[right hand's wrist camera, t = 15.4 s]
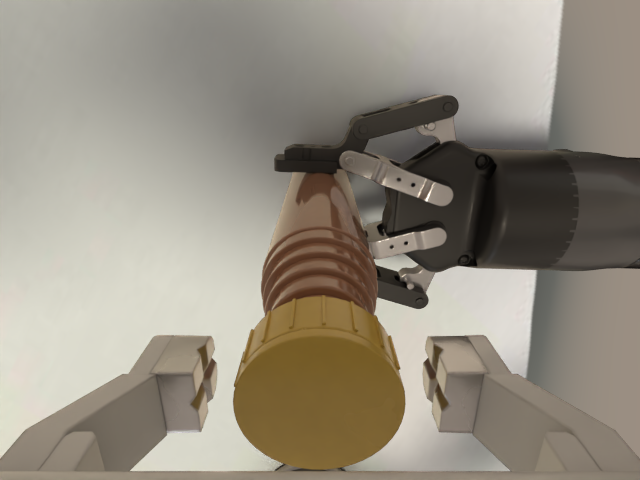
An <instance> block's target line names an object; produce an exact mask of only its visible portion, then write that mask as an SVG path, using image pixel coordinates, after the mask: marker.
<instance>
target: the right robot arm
mask: <svg viewBox="0 0 640 480" xmlns="http://www.w3.org/2000/svg"><path fill="white" fill-rule="evenodd" d="M214 350H215V347H214V340H213V338H212V337H211V336H187V335H175V336H174V335H157V336H155V337H153V338H152V340H151V341H150V343H149V344H148V346H147V347H146V349H145V350H144V351H143V353H142V354H141V356H140V357H139V359H138V360H137V362H136V363H135V365H134V366H133V368H132V369H131V371H130V372H129V374H122V375H120V376H118V377H117V378H115V379H113V380H111V381H110V382H108V383H106V384H104V385H103V386H101V387H99V388H97V389H96V390H94V391H92V392H90V393H89V394H87V395H85V396H84V397H82V398H80V399H78V400H77V401H75V402H73V403H71V404H70V405H68V406H66V407H64V408H63V409H61V410H59V411H57V412H56V413H54V414H52V415H50V416H49V417H47V418H45V419H43V420H42V421H40V422H38V423H36V424H35V425H33V426H31V427H29V428H28V429H26V430H25V431H24V432H23V433H22V434H21V436H20V437H19V438H18V439H17V440H16V441H15V442H14V444H13V445H12V446H11V447H10V448H9V449H8V450H7V452H6V453H5V454H4V455H3V456H2V457H1V459H0V480H640V459H639V457H638V456H637V455H636V454H635V453H634V452H633V450H632V449H631V448H630V447H629V446H628V445H627V443H626V442H625V441H624V440H623V439H622V438H621V436H620V435H619V434H618V433H617V432H616V431H615V430H614V429H612V428H610V427H608V426H607V425H605V424H603V423H601V422H600V421H598V420H596V419H595V418H593V417H591V416H589V415H588V414H586V413H584V412H582V411H581V410H579V409H577V408H575V407H574V406H572V405H570V404H568V403H567V402H565V401H563V400H562V399H560V398H558V397H556V396H555V395H553V394H551V393H549V392H548V391H546V390H544V389H542V388H541V387H539V386H537V385H535V384H534V383H532V382H530V381H528V380H527V379H525V378H523V377H522V376H520V375H518V374H511V372H510V371H509V369H508V368H507V366H506V365H505V363H504V362H503V361H502V359H501V358H500V356H499V355H498V353H497V352H496V350H495V349H494V347H493V346H492V344H491V343H490V342H489V340H488V339H487V337H486V336H484V335H466V336H428V338H427V340H426V346H425V350H426V353H427V355H428V359H427V360H426V361H425V362H424V363H423V385H424V390H425V393H426V396H427V399H429V400H430V401H431V402H432V403H433V405H432V414H433V417H434V419H435V422H436V425H437V428H438V431H439V432H451V433H473V435H474V436H475V437H476V438H477V439H478V440H479V441H480V442H481V443H482V444H483V445H484V446H485V447H486V448H487V449H488V450H489V451H490V452H491V453H493V454H494V455H495V456H496V457H497V458H498V459H499V460H500V461H501V462H502V463H503V464H504V465H505V466H506V467H507V468H508V469H509V470H510V471H130V470H131V469H132V468H133V467H134V466H135V465H136V464H137V463H138V462H139V461H140V460H141V459H142V458H143V457H144V456H145V455H147V454H148V453H149V452H150V451H151V450H152V449H153V448H154V447H155V446H156V445H157V444H158V443H159V442H160V441H161V440H162V439H163V438H164V437H165V436H166V435H167V433H189V432H201V431H202V428H203V425H204V422H205V419H206V416H207V414H208V405H207V403H208V402H209V401H210V400H211V399H213V396H214V393H215V390H216V383H217V364H216V362H215V361H214V360H213V359H212V355H213V353H214Z"/></svg>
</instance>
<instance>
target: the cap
mask: <svg viewBox="0 0 640 480" xmlns="http://www.w3.org/2000/svg"><path fill="white" fill-rule="evenodd" d="M399 370H400V366H399V362H398V359H397V355H396V352H395V348H394V345H393V341H392V338H391V336H388V334H387V333H386V331H385V329H384V328H383V326H382V325H381V324H380V323H379V321H378V318H377V316H376V315H375V316H372V315H371V314H370V313H369V312H367V311H366V310H364V309H363V308H361V307H359V306H357V305H356V304H354V302H353V301H351V302H348V301H346V300H342V299H338V298H332V297H325V295H322V297H306V298H305V297H304V298H301V299H297V300H296V298H295V299H293V300H292V301H291V302H288V303H285V304H283V305H281V306H279V307H277V308H276V309H274V310H273V311H270V310H269V311H268V312H267V315H266V316H265V317H264V318H263V319H262V320H261V321H260V322H259V323H258V325H257V326H256V327H255V329H254V330H253V329H251V331H250V334H249V338H248V341H247V345H246V348H245V352H243V356H242V359H241V363H240V366H239V369H238V373H237V376H236V380H235V383H234V387H235V391H234V398H233V406H234V413H235V417H236V420H237V423H238V425H239V427H240V429H241V431H242V432H243V434H244V436H245V437H246V438H247V439H248V440H249V442H250V443H251V444H252V445H253V446H255V447H256V448H257V449H258V450H259V451H261V452H262V453H263V454H265V455H267V456H268V457H270V458H272V459H274V460H276V461H279V462H281V463H283V464H287V465H290V466H294V467H298V468H304V469H317V470H324V469H335V468H340V467H345V466H349V465H352V464H355V463H358V462H360V461H363V460H365V459H366V458H368V457H370V456H372V455H374V454H375V453H377V452H378V451H379V450H381V449H382V448H383V447H384V446H385V445H386V444H387V443H388V442H389V441H390V440H391V439H392V438H393V436H394V435H395V433H396V432H397V430H398V428H399V426H400V424H401V422H402V419H403V415H404V411H405V391H404V387H403V384H402V380H401V377H400V373H399Z"/></svg>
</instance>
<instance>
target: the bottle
mask: <svg viewBox="0 0 640 480" xmlns="http://www.w3.org/2000/svg"><path fill="white" fill-rule="evenodd" d="M261 294H262V299H263V308H264V312H265V316H266V315H267V312H268V311H269V310H270V311H273V310H274V309H276V308H277V307H279V306H281V305H283V304H285V303H288V302H291V301H292V300H293V299H295V298H296V300H297V299H301V298H304V297H305V298H306V297H322V295H325V297H332V298H338V299H342V300H346V301H348V302H351V301H353V302H354V304H356V305H357V306H359V307H361V308H363V309H364V310H366V311H367V312H369V313H370V314H371V315H372V316H374V312H375V309H376V299H377V294H378V282H377V270H376V265H375V262H374V259H373V256H372V252H371V249H370V246H369V243H368V240H367V236H366V233H365V230H364V227H363V224H362V220H361V217H360V214H359V211H358V208H357V204H356V201H355V198H354V195H353V192H352V188H351V185H350V182H349V179H348V175H347V172H346V171H345V170H344V169H337V174H332V173H302V172H293V174H292V177H291V180H290V184H289V187H288V190H287V193H286V196H285V199H284V202H283V206H282V209H281V212H280V215H279V218H278V221H277V225H276V228H275V231H274V234H273V237H272V240H271V243H270V247H269V250H268V253H267V256H266V259H265V262H264V266H263V271H262V283H261Z"/></svg>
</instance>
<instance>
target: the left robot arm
mask: <svg viewBox="0 0 640 480" xmlns="http://www.w3.org/2000/svg"><path fill="white" fill-rule="evenodd" d="M458 106H459V105H458V101H457V99H456V98H455V97H453V96H449V95H432V96H429V97H425V98H421V99H417V100H414V101H410V102H406V103H403V104H399V105H395V106H391V107H388V108H384V109H380V110H376V111H373V112H369V113H365V114H361V115H358V116H355V117H353V118H352V119H351V121H350V124H349V128H348V130H347V133H346V135H345V138H344V139H343V141H342V142H341V143H339V144H337V145H309V144H293V145H291V146H288V147H286V149H285V154H278V155H276V157H275V159H274V160H275V171H278V172H302V173H332V174H337V169H344V170H345V171H348V172H351V173H354V174H357V175H359V176H362V177H365V178H368V179H371V180H373V181H375V182H376V183H378V184H381V185H383V186H385V193H386V199H387V204H386V206H385V209H384V211H383V216H382V220H381V221H378V222H374V223H370V224H367V225H366V226H365V227H364V230H365V233H366V236H367V240H368V243H369V246H370V249H371V252H372V256H373V258H374V259H382V258H386V257H390V256H394V255H398V254H402V253H404V254H406V255H407V256H408V257H410V258H411V259H412V260H413V261H415V262H416V263H417V264H419V265H418V266H416V267H414V268H402V269H401V270H399V271H398V272H397V271H393V270H390V269H387V268H383V267H380V266H377V265H376V270H377V282H378V294H377V297H378V298H382V299H385V300H388V301H392V302H395V303H399V304H402V305H406V306H409V307H412V308H416V309H421V308H424V307H425V306H426V305H427V304H428V297H427V295H426V291H427V289H428V287H429V285H430V282H431V280H432V278H433V276H434V274H435V272H441V271H444V270H446V269H448V268H451V267H455V266H465V267H472V268H491V269H524V270H561V271H587V270H596V269H606V268H635V269H640V158H625V157H617V156H611V155H606V154H600V153H591V152H573V151H570V150H567V149H558V150H553V151H541V150H511V149H480V148H470V147H468V146H466V145H465V144H463V143H461V142H459V141H456V136H455V128H454V120H453V116H454V115H455V114H456V113H457V111H458ZM413 127H415V130H416V131H417V132H418V133H420V134H422V135H425V136H434V137H435V139H436V143H434V144H432V145H431V146H429V147H428V148H426V149H425V150H423V151H422V152H420V153H418V154H417V155H415V156H414V157H412V158H411V159H409V160H408V161H406V162H405V163H400V162H398V161H395V160H392V159H389V158H387V157H384V156H381V155H378V154H373V153H370V152H368V151H365V150H364V149H365V147H366V145H367V142H368V140H369V139H371V138H375V137H379V136H383V135H386V134H390V133H394V132H398V131H402V130H406V129H409V128H413ZM383 229H384V230H383ZM277 471H342V470H341V469H340V468H335V469H324V470H317V469H304V468H298V467H294V466H290V465H284V466H283V467H281V468H279V469H278V470H277Z"/></svg>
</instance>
